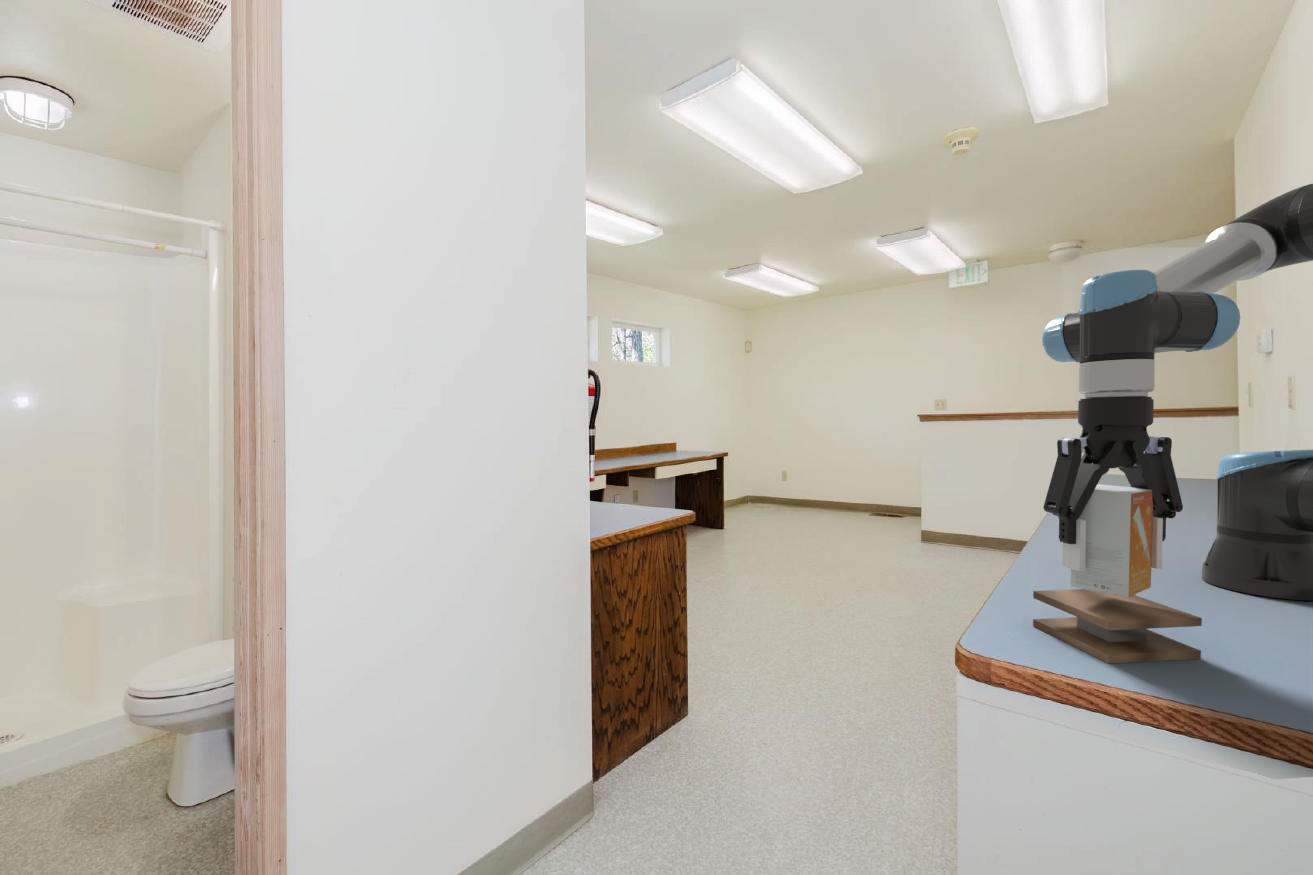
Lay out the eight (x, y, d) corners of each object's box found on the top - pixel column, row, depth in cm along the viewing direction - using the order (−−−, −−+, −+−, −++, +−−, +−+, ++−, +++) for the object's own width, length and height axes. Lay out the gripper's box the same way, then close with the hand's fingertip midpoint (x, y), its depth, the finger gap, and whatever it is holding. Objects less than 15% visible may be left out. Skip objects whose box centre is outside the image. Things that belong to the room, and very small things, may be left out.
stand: (1112, 622, 80) (1113, 587, 80) (1200, 658, 68) (1201, 617, 68) (1032, 626, 79) (1033, 590, 79) (1108, 663, 67) (1109, 622, 67)
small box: (1129, 599, 68) (1132, 493, 68) (1069, 586, 74) (1070, 488, 73) (1153, 588, 73) (1155, 488, 72) (1094, 576, 78) (1095, 483, 78)
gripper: (1166, 396, 77) (1162, 557, 78) (1011, 397, 75) (1009, 562, 76) (1226, 393, 69) (1221, 572, 70) (1056, 395, 68) (1053, 578, 68)
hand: (1111, 567), depth 73 cm, fingers closed on small box, 10 cm apart
